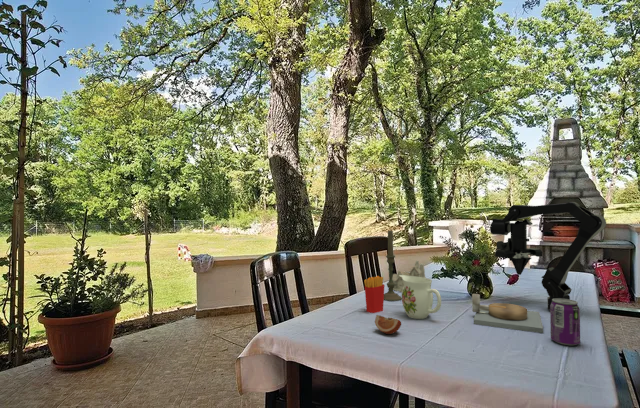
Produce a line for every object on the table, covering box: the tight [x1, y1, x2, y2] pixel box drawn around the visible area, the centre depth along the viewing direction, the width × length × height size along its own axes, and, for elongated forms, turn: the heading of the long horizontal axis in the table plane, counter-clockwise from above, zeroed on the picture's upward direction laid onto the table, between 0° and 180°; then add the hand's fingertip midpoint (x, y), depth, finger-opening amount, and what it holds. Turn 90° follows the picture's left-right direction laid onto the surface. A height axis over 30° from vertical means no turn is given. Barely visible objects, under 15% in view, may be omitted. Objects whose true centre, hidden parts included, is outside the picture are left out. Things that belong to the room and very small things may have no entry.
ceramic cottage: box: [392, 260, 427, 293], centre depth 174 cm, size 16×16×15 cm
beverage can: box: [549, 298, 581, 347], centre depth 104 cm, size 7×7×12 cm
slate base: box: [473, 310, 544, 334], centre depth 126 cm, size 21×20×2 cm
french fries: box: [363, 275, 385, 314], centre depth 138 cm, size 9×4×13 cm, turn 127°
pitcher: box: [399, 275, 442, 320], centre depth 130 cm, size 11×18×14 cm, turn 36°
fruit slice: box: [374, 314, 402, 335], centre depth 114 cm, size 8×7×5 cm
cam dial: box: [471, 293, 528, 320], centre depth 127 cm, size 17×12×6 cm
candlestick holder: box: [384, 229, 402, 302], centre depth 157 cm, size 9×9×30 cm
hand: (519, 274), depth 146 cm, fingers closed
